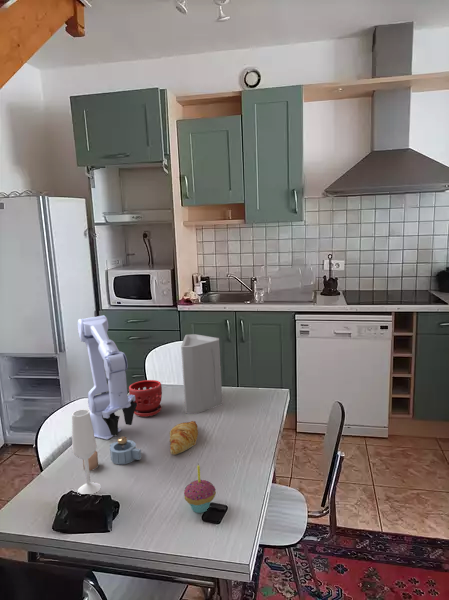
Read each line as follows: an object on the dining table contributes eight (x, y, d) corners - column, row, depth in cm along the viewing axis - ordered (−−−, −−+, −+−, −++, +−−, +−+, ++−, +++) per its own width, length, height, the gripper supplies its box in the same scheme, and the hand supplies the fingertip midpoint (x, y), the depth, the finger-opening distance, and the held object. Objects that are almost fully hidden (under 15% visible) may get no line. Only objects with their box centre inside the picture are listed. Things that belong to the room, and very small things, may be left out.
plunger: (113, 458, 145) (112, 440, 144) (122, 451, 149) (120, 434, 148) (125, 460, 143) (123, 443, 142) (133, 453, 147) (132, 436, 146)
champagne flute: (88, 498, 125) (79, 419, 121) (72, 491, 128) (63, 415, 124) (105, 486, 131) (97, 410, 126) (90, 480, 134) (82, 406, 130)
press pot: (104, 461, 144) (103, 449, 144) (120, 449, 152) (119, 438, 151) (133, 467, 140) (131, 455, 139) (147, 455, 147) (146, 443, 146)
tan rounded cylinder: (80, 469, 140) (79, 456, 140) (89, 461, 145) (88, 449, 144) (92, 471, 139) (91, 458, 138) (101, 463, 143) (100, 451, 142)
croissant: (181, 468, 145) (191, 449, 142) (155, 452, 146) (164, 434, 144) (201, 436, 165) (209, 419, 162) (177, 422, 166) (185, 406, 164)
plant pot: (169, 409, 183) (167, 381, 181) (148, 421, 172) (146, 392, 170) (146, 403, 190) (144, 376, 188) (124, 415, 179) (121, 387, 177)
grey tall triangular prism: (222, 412, 177) (218, 345, 172) (185, 414, 177) (180, 347, 172) (222, 394, 196) (219, 333, 191) (189, 395, 196) (185, 334, 191)
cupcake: (185, 499, 123) (182, 459, 120) (215, 496, 123) (213, 456, 121) (185, 519, 114) (182, 477, 112) (217, 516, 115) (215, 474, 113)
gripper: (113, 400, 134) (117, 441, 137) (141, 383, 147) (144, 421, 150) (95, 397, 137) (99, 438, 140) (124, 381, 150) (127, 418, 152)
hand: (121, 429), depth 145 cm, fingers open, 7 cm apart
